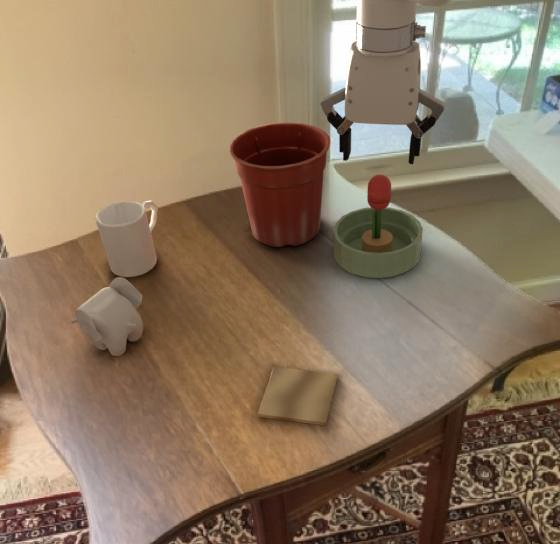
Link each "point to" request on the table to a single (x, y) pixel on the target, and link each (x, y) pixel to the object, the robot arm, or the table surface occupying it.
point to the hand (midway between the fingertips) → (379, 158)
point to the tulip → (378, 216)
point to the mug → (128, 237)
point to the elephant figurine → (112, 316)
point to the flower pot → (282, 180)
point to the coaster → (298, 396)
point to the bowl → (371, 263)
